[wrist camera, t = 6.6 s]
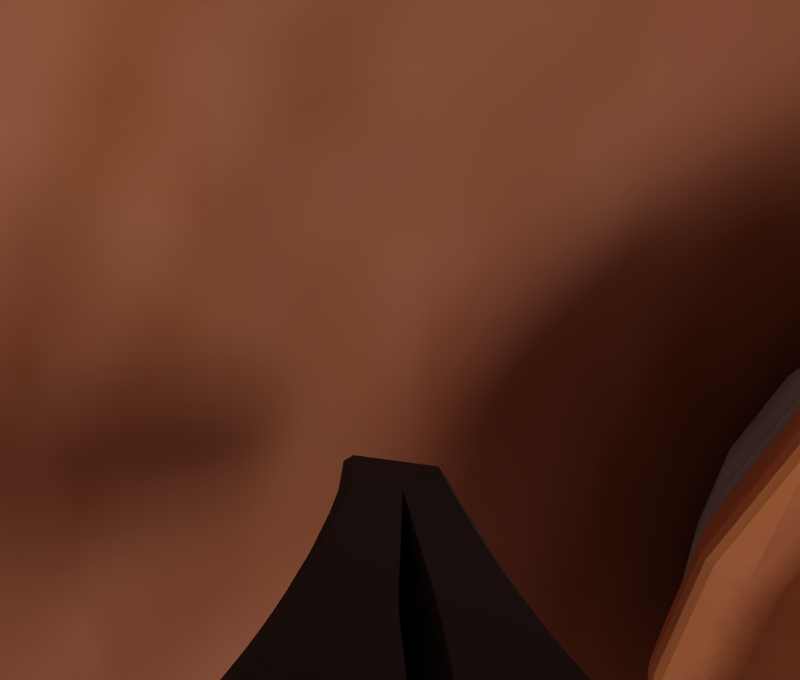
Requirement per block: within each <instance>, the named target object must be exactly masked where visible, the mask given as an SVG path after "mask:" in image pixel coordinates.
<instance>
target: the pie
mask: <svg viewBox="0 0 800 680" xmlns="http://www.w3.org/2000/svg"><path fill="white" fill-rule="evenodd" d="M647 680H800V367H799V368H798V369H797V370H795V371H794V372H793V373H792V374H790V375H789V376H788V377H787V378H786V379H785V380H784V382H783V383H782V384H781V385H780V387H779V388H778V389H777V390H776V392H775V393H774V394H773V395H772V397H771V398H770V399H769V400H768V402H767V403H766V404H765V405H764V407H763V408H762V409H761V410H760V412H759V413H758V414H757V415H756V417H755V418H754V419H753V420H752V422H751V423H750V424H749V425H748V427H747V428H746V429H745V431H744V432H743V433H742V434H741V436H740V437H739V438H738V439H737V441H736V442H735V443H734V444H733V446H732V447H731V448H730V449H729V451H728V454H727V456H726V458H725V461H724V463H723V465H722V468H721V470H720V472H719V475H718V477H717V479H716V482H715V484H714V486H713V489H712V491H711V493H710V496H709V498H708V500H707V503H706V505H705V507H704V510H703V512H702V514H701V517H700V519H699V521H698V525H697V529H696V532H695V536H694V540H693V543H692V547H691V551H690V554H689V558H688V562H687V566H686V569H685V573H684V577H683V580H682V583H681V586H680V588H679V590H678V593H677V595H676V597H675V599H674V602H673V604H672V606H671V609H670V611H669V613H668V615H667V618H666V620H665V623H664V625H663V628H662V630H661V633H660V635H659V638H658V641H657V643H656V646H655V648H654V651H653V653H652V656H651V658H650V661H649V668H648V678H647Z"/></svg>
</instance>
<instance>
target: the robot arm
mask: <svg viewBox="0 0 800 680" xmlns="http://www.w3.org/2000/svg"><path fill="white" fill-rule="evenodd" d="M221 680H590V679H589V677H588V676H587V675H586V674H585V673H584V672H583V671H582V670H581V669H580V667H579V666H578V665H577V664H576V663H575V662H574V661H573V660H572V659H571V657H570V656H569V655H568V654H567V653H566V652H565V651H564V650H563V648H562V647H561V646H560V645H559V644H558V642H557V641H556V640H555V639H554V638H553V636H552V635H551V634H550V633H549V632H548V630H547V629H546V628H545V626H544V625H543V624H542V623H541V621H540V620H539V619H538V617H537V616H536V615H535V613H534V612H533V611H532V609H531V608H530V607H529V605H528V604H527V603H526V602H525V600H524V599H523V597H522V596H521V595H520V593H519V592H518V590H517V589H516V588H515V586H514V585H513V583H512V582H511V581H510V579H509V578H508V576H507V575H506V573H505V572H504V570H503V569H502V567H501V566H500V564H499V563H498V561H497V560H496V558H495V557H494V555H493V554H492V553H491V551H490V550H489V548H488V547H487V545H486V543H485V542H484V540H483V539H482V537H481V536H480V534H479V532H478V531H477V529H476V528H475V526H474V524H473V523H472V521H471V519H470V518H469V516H468V515H467V513H466V511H465V510H464V508H463V506H462V504H461V503H460V501H459V499H458V498H457V496H456V494H455V493H454V491H453V489H452V487H451V486H450V484H449V482H448V480H447V479H446V477H445V475H444V474H443V472H442V471H441V469H440V468H439V467H437V466H430V465H422V464H415V463H407V462H400V461H393V460H385V459H378V458H370V457H363V456H355V455H353V456H351V457H350V458H348V459H346V460H345V461H344V463H343V468H342V474H341V479H340V484H339V490H338V493H337V496H336V498H335V501H334V503H333V506H332V508H331V511H330V513H329V515H328V517H327V519H326V521H325V523H324V525H323V527H322V529H321V531H320V533H319V535H318V537H317V539H316V541H315V544H314V546H313V547H312V549H311V551H310V553H309V555H308V556H307V558H306V560H305V561H304V563H303V565H302V566H301V568H300V570H299V571H298V573H297V575H296V576H295V578H294V579H293V581H292V583H291V584H290V586H289V588H288V589H287V591H286V593H285V594H284V596H283V597H282V599H281V600H280V602H279V603H278V605H277V606H276V608H275V609H274V611H273V612H272V614H271V615H270V616H269V618H268V619H267V621H266V622H265V623H264V625H263V626H262V628H261V629H260V630H259V632H258V633H257V634H256V636H255V637H254V638H253V640H252V641H251V642H250V644H249V645H248V646H247V648H246V649H245V650H244V652H243V653H242V654H241V655H240V657H239V658H238V659H237V660H236V661H235V663H234V664H233V665H232V666H231V668H230V669H229V670H228V671H227V672H226V674H225V675H224V676H223V677H222V679H221Z"/></svg>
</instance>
